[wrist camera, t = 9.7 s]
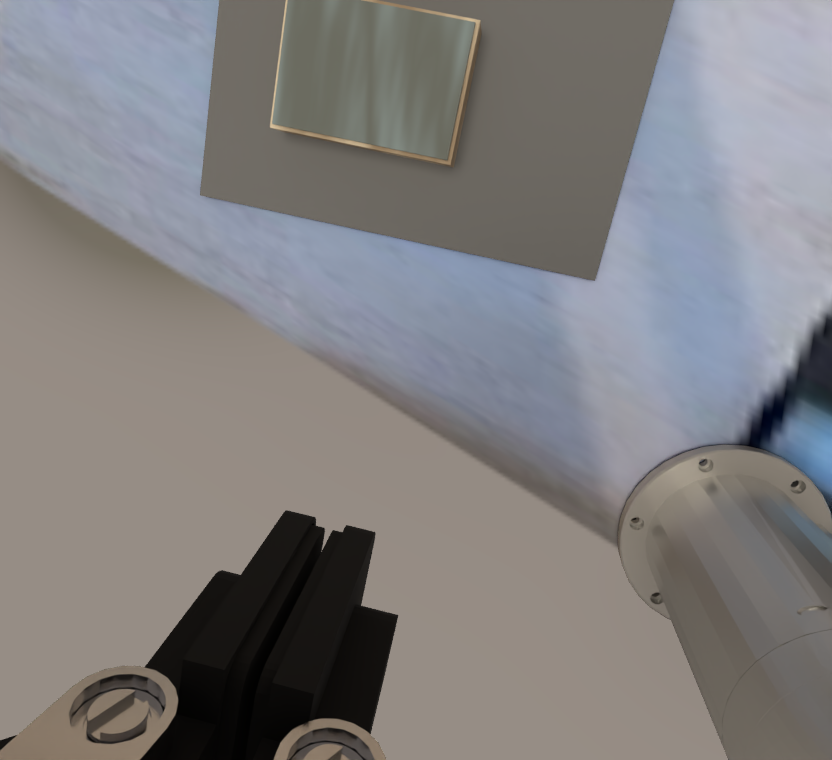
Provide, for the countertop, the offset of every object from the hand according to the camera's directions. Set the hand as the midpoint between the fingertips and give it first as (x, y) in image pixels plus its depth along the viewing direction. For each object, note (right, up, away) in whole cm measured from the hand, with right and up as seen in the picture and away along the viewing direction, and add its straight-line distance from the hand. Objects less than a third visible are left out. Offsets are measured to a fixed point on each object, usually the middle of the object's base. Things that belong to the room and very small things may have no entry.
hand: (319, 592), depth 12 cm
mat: (+2, +20, +25) cm, 32 cm away
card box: (+4, +19, +23) cm, 30 cm away
